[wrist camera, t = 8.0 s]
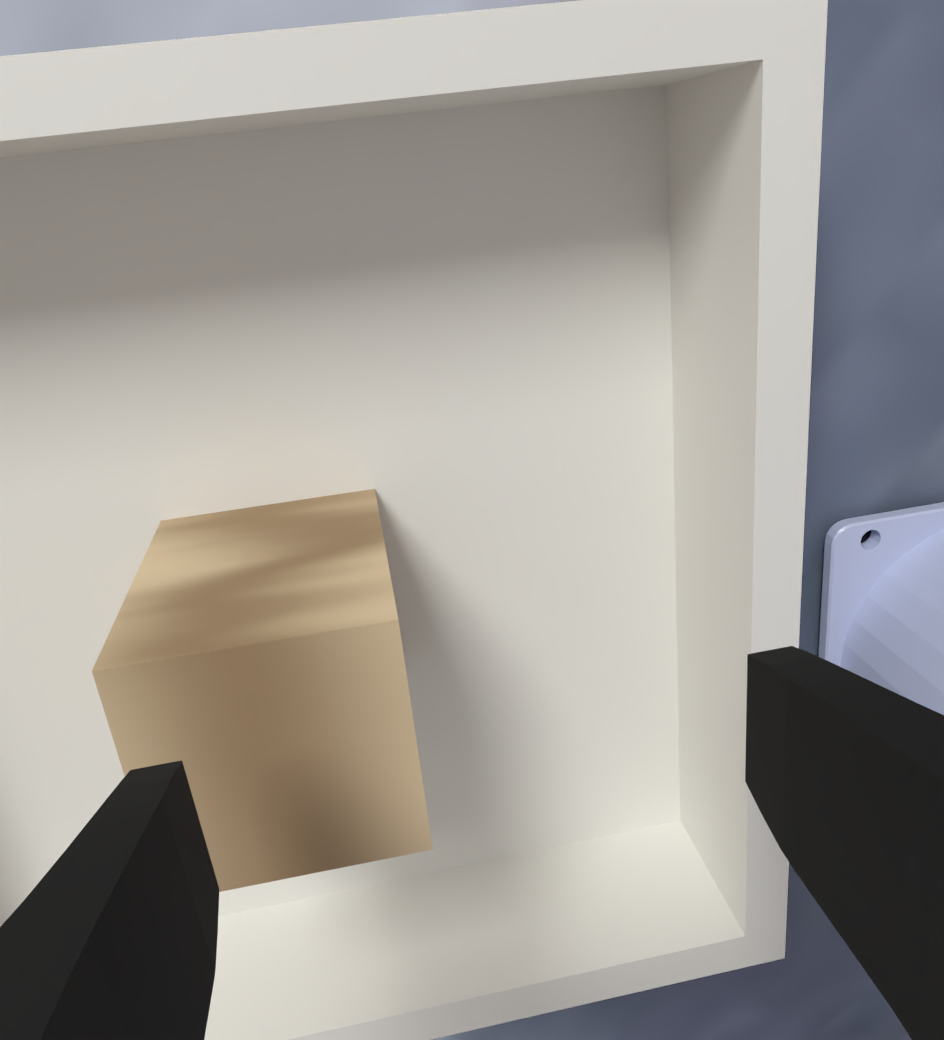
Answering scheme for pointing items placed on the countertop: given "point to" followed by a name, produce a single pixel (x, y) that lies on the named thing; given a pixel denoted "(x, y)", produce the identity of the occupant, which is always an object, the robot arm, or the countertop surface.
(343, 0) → the countertop surface
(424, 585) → the bin
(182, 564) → the maple block
